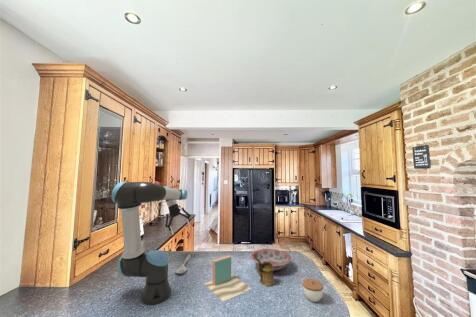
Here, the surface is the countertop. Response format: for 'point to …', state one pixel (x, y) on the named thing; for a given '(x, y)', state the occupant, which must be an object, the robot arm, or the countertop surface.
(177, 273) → the spoon
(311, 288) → the lidded jar
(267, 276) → the wooden mug
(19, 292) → the countertop surface
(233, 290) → the cream cloth
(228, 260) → the ceramic tile
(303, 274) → the countertop surface
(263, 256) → the ceramic bowl
